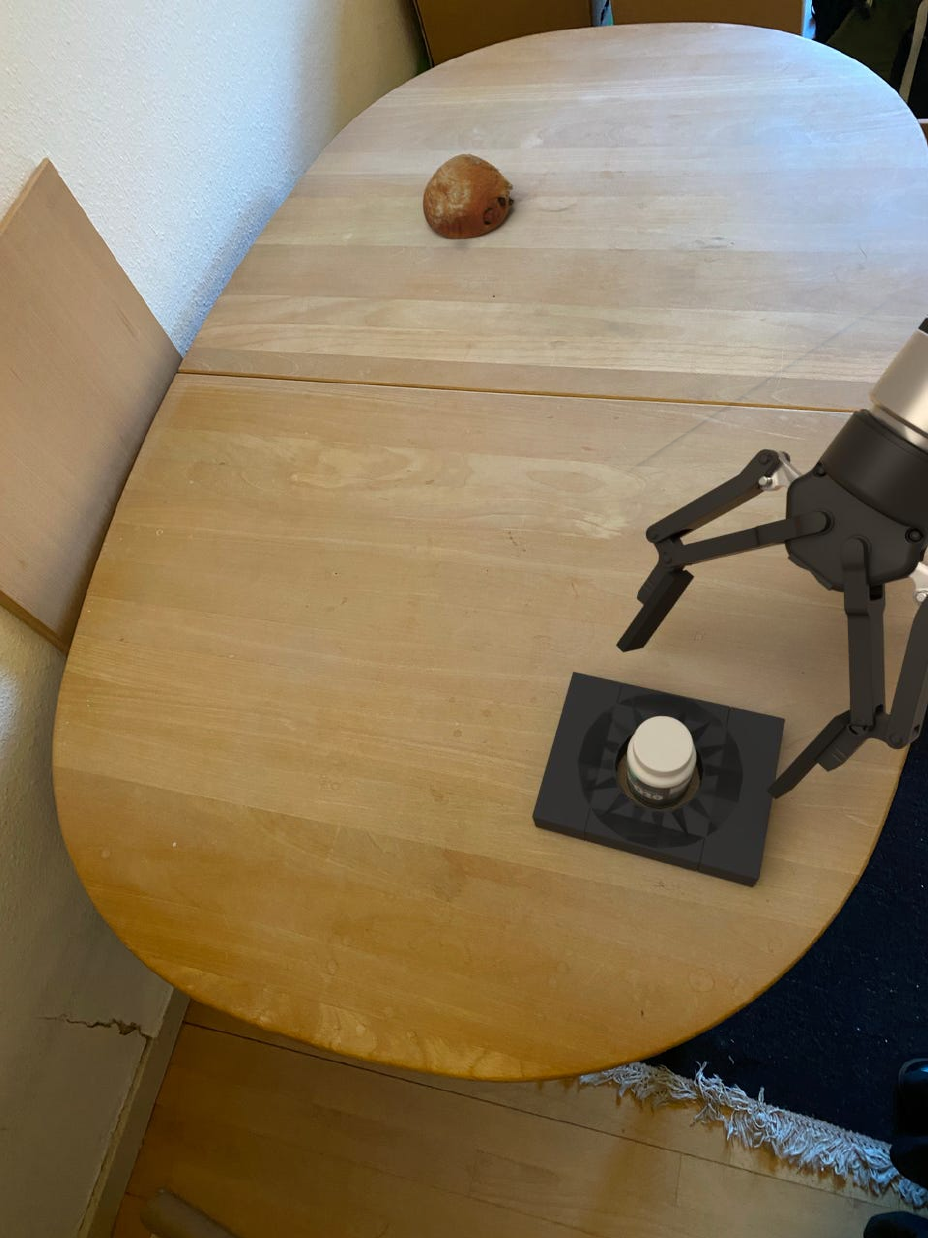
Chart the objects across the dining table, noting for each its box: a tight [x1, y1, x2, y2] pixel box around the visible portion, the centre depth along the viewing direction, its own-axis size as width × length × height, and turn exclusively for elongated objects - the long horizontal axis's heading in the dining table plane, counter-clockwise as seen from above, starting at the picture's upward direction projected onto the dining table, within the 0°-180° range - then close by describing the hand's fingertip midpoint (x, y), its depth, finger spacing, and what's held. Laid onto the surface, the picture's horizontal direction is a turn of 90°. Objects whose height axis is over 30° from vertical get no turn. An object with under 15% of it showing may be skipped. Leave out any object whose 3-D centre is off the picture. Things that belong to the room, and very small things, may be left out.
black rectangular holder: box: [531, 671, 786, 888], centre depth 62 cm, size 16×12×3 cm
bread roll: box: [422, 153, 515, 240], centre depth 97 cm, size 10×10×8 cm
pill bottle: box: [626, 716, 696, 809], centre depth 60 cm, size 5×5×8 cm
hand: (700, 714), depth 55 cm, fingers open, 13 cm apart
